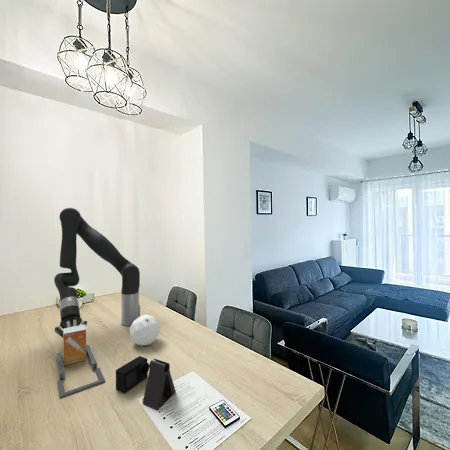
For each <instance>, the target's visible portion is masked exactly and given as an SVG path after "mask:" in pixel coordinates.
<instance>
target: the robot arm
mask: <svg viewBox="0 0 450 450" xmlns="http://www.w3.org/2000/svg"><path fill="white" fill-rule="evenodd" d="M58 217H59V221H60V226H61V244H60V251H59V252H60V254H59V267H60V268H63V269H67V270H68V269H69V270H70V272H59V273H57V274H55V276H54V278H53V279H54V285H55V288H56V289H57V291H58V293H59V294H58V295H59V313H60V322H59V325H58V326H56V327H54V333H55V334H57V335H58V336H60V337H61V338H62V339H63V329H64V328H69V327H73V326H79V325H84V324H85V326H86V327H87V325H88V321H87V320H83V318H82V317H81V309H80V303H79V300H78V291H77V288H75V287H76V286H77V285H78V284H79V283H80V275H79V272H78V267H77V255H78V254H77V251H78V249H77V236H78V237H80V238H81V240H82V241H83V242H84V244H86V245H87V246H88V248H89V249H90V250H92V251H93V252H94V253H95V254H96V255H97V256H99V258H101V259H102V260H104V261H106V262H107V263H109V264H111V266H112V267H113V268H115V270H116V271H118V273H119V274H120V275H121V291H120V293H121V325H122V326H124V327H125V326H126V327H128V326H129V327H131V325H132V323H133V321H134V320H136V319H137V318H139V317H140V316H141V305H140V285H141V284H140V281H141V277H140V276H141V275H140V274H141V273H140V269H139V267H138V266H137V265H136V264H134V263H132V261H129V260H128V259H127V258H126V257H125V256H123V255H122V254H121V252H120V251H119V250H118V249H117V247H116V246H115V245H114V244H113V243H112V242H111V241H110V240H109V239H108V238H107V237H106V236H104V234H103V233H101V232H100V231H98V230H97V229H95V228H94V227H92V226H91V225H89V223H88V222H87V221H86V220H85V219H84V218H83V216H82V215H81V213H80V211H79V210H78V209H76V208H75V207H66V208H64V209H63V210H62V211H60V213H59V216H58Z"/></svg>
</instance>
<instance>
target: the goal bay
mask: <svg viewBox="0 0 450 450" xmlns="http://www.w3.org/2000/svg"><path fill="white" fill-rule="evenodd" d="M94 371H95V373H96V376H97V379H98V380H96V381H93V382H91V383H87V384H85V385H82V386H79V387H76V388H74V389H70V390H68V391H65V385H64V380H63V379H62V380H60V379H59V380H57V387H58V388H57V389H58V395H59V399H62V398H65V397H67V396H71V395H73V394H77V393H79V392H82V391H85V390H87V389H91V388H93V387H95V386H99V385H101V384H103V383H106V380H105V377H104V375H103V372H102V370H101V368H100V367H97V369H95V370H94Z"/></svg>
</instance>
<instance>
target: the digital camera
mask: <svg viewBox="0 0 450 450" xmlns="http://www.w3.org/2000/svg"><path fill="white" fill-rule="evenodd" d="M149 364H150V362H148V358H146V357H143V356H141V355H139V356H137V357H135V358H133V359H132V360H130V361H129V362H127V363H125V364H123V365H122V366H120V367H118V368H117V369H115V390H116V391H118V392H119V393H122V394H126V393H128V392H129V391H130V390H132V389H134V388H135V387H136V386H138V385H139V384H140V383H142V382H143V381H145V380H146V379H148V375H149V373H148V372H149V370H150V367H149Z"/></svg>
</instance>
